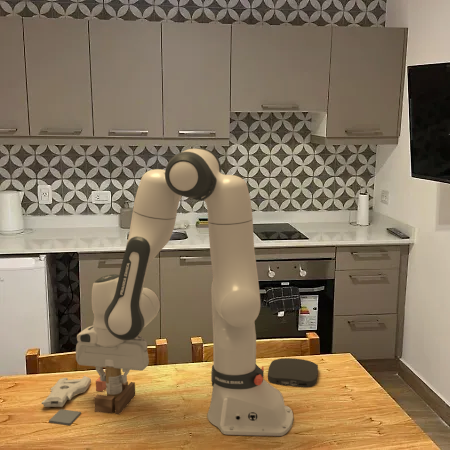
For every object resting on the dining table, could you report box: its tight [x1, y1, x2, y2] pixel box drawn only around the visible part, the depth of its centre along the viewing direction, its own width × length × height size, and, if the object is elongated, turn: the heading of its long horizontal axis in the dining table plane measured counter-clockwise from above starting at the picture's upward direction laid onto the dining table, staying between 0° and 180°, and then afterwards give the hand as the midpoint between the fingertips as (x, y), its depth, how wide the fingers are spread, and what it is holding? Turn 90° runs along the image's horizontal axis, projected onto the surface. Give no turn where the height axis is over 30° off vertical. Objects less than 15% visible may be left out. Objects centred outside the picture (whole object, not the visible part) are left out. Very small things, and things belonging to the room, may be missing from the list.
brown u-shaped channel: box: [93, 381, 136, 416], centre depth 160 cm, size 7×11×4 cm, turn 166°
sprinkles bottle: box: [104, 360, 122, 399], centre depth 159 cm, size 5×5×14 cm
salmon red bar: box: [95, 376, 106, 392], centre depth 173 cm, size 2×12×3 cm, turn 166°
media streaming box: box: [267, 357, 319, 388], centre depth 177 cm, size 15×15×3 cm
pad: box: [48, 408, 82, 426], centre depth 152 cm, size 6×6×1 cm
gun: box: [41, 375, 92, 408], centre depth 164 cm, size 18×3×10 cm
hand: (113, 381), depth 159 cm, fingers open, 4 cm apart
